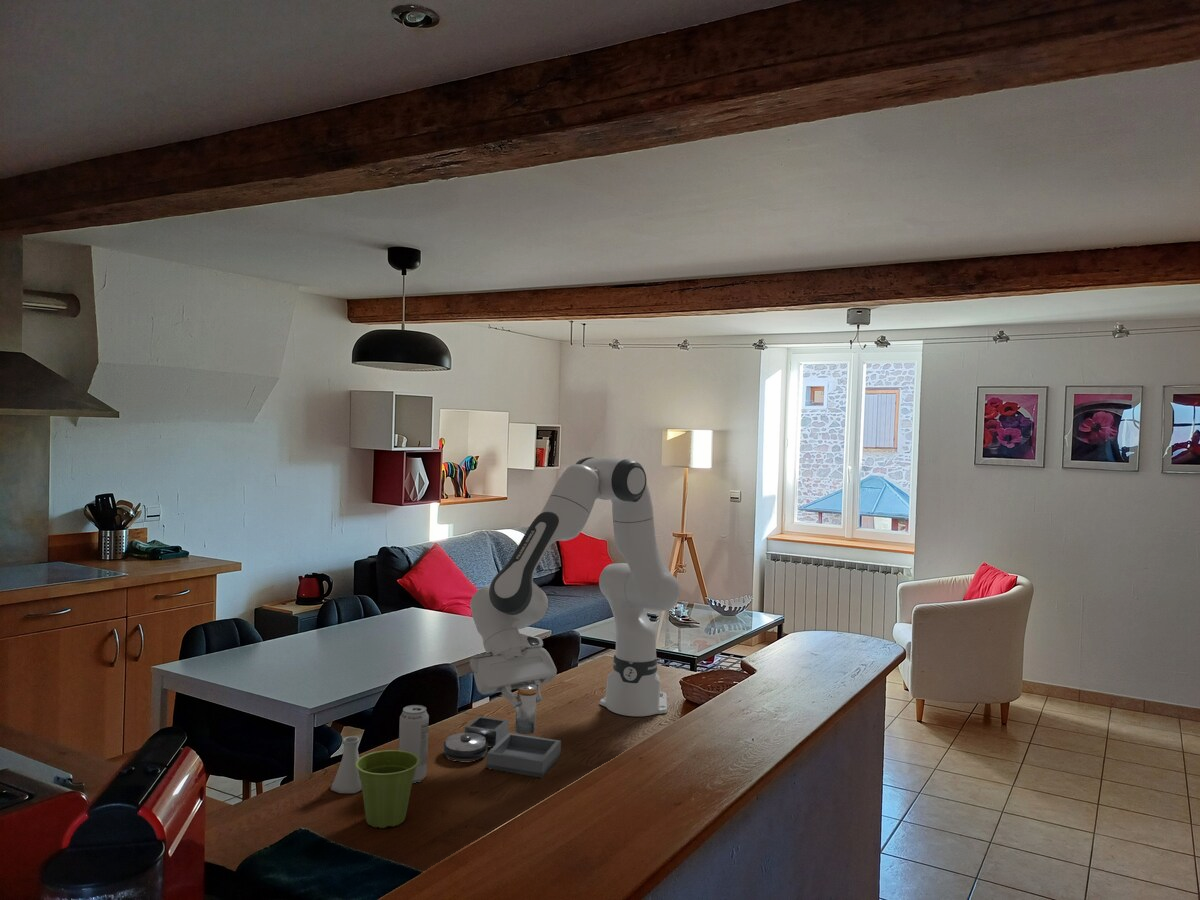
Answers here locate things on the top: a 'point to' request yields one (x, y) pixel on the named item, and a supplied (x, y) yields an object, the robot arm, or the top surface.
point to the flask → (348, 769)
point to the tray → (524, 755)
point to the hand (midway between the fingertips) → (528, 703)
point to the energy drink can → (415, 736)
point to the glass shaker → (526, 709)
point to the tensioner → (475, 739)
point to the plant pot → (386, 785)
